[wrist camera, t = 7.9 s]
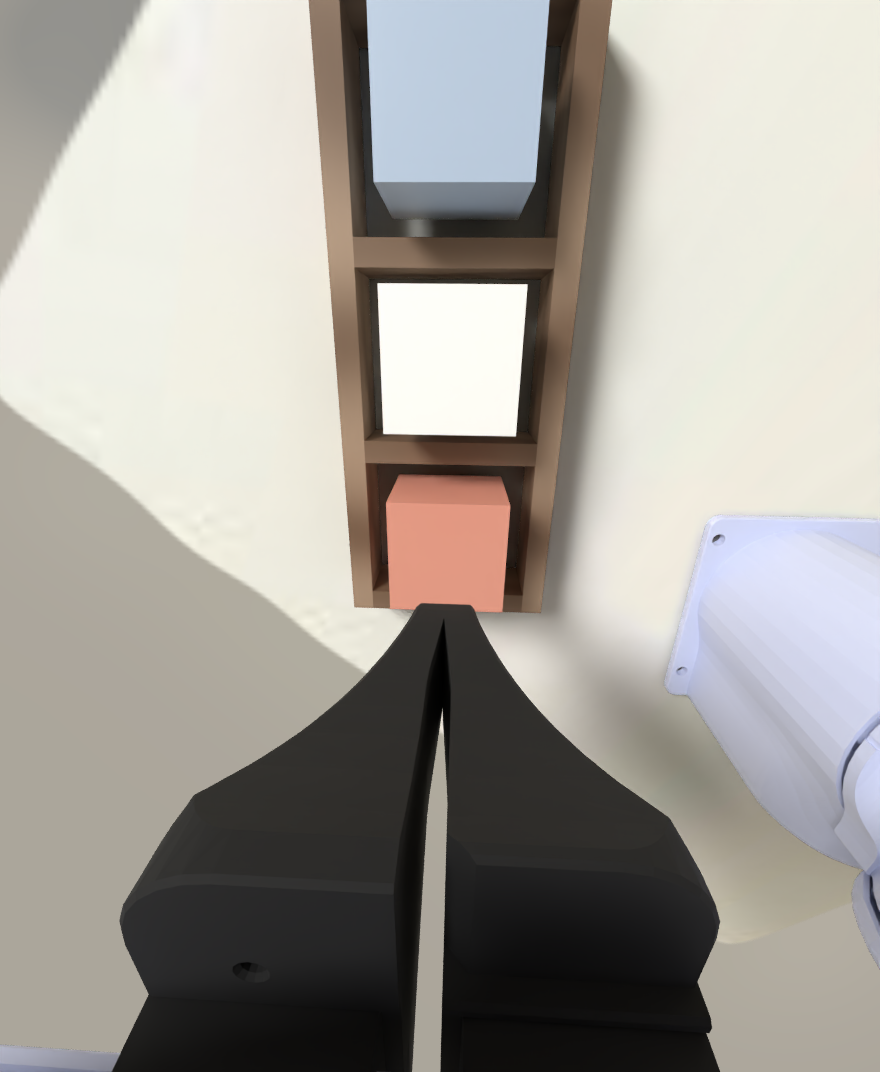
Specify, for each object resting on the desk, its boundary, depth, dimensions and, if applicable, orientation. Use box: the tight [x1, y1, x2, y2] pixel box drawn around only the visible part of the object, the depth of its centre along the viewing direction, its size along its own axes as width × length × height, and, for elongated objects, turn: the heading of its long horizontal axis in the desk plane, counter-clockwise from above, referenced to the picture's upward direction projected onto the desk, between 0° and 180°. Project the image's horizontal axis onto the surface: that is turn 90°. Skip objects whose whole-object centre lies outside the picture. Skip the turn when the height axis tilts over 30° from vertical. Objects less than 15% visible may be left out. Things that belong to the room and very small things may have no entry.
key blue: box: [367, 0, 550, 220], centre depth 12 cm, size 4×4×4 cm
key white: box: [377, 283, 528, 436], centre depth 14 cm, size 4×4×4 cm
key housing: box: [309, 0, 612, 613], centre depth 16 cm, size 19×8×2 cm, turn 179°
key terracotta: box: [386, 474, 510, 612], centre depth 17 cm, size 4×4×4 cm
